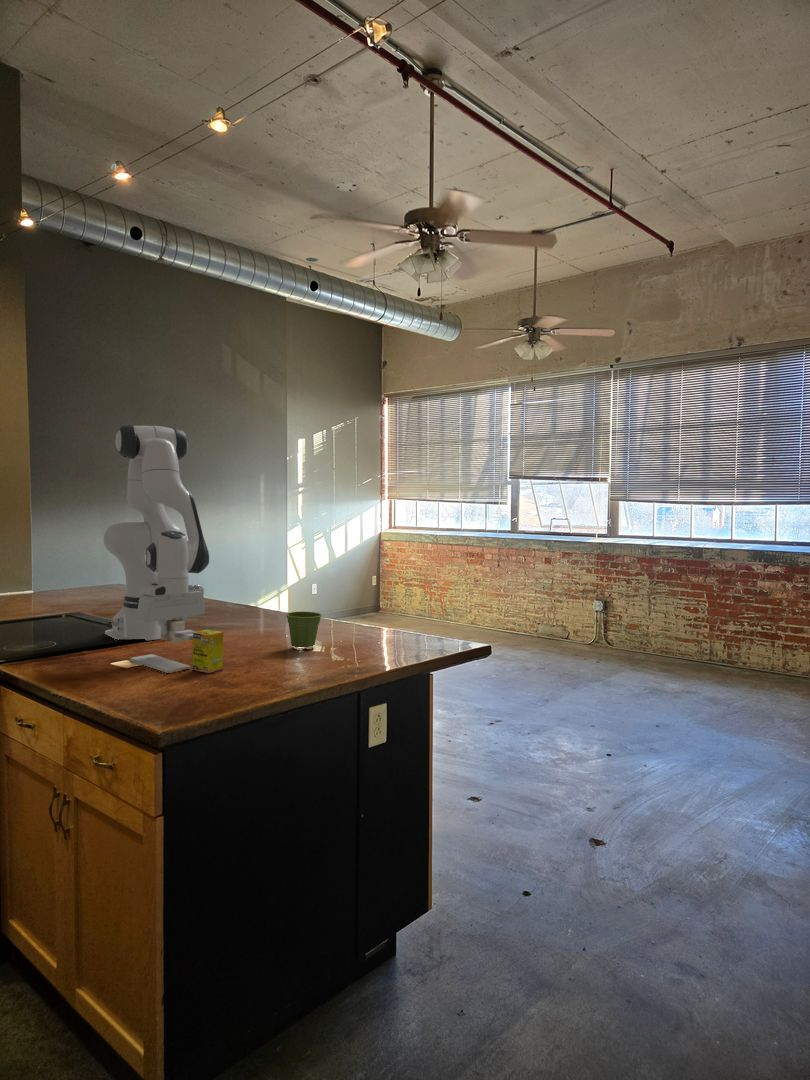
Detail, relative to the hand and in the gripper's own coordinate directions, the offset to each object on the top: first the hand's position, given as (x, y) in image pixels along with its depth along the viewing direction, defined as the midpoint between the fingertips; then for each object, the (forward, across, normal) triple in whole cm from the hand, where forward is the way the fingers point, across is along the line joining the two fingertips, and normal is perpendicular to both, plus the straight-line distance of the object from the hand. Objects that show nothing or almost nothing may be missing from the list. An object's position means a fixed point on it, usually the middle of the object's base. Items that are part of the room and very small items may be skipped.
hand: (172, 633), depth 203 cm
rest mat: (+8, +6, +4) cm, 11 cm away
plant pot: (+8, -38, +15) cm, 42 cm away
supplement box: (+8, 0, +18) cm, 20 cm away
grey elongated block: (+2, 0, +5) cm, 5 cm away
